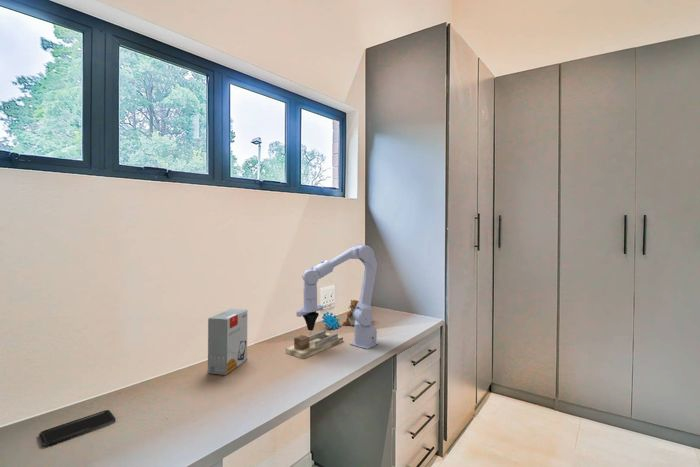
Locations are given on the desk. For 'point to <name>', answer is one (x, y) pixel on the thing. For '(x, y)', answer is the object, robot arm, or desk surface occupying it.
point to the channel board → (316, 344)
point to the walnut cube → (301, 342)
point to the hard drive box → (227, 341)
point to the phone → (76, 428)
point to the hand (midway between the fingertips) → (310, 329)
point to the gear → (330, 320)
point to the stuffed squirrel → (351, 313)
